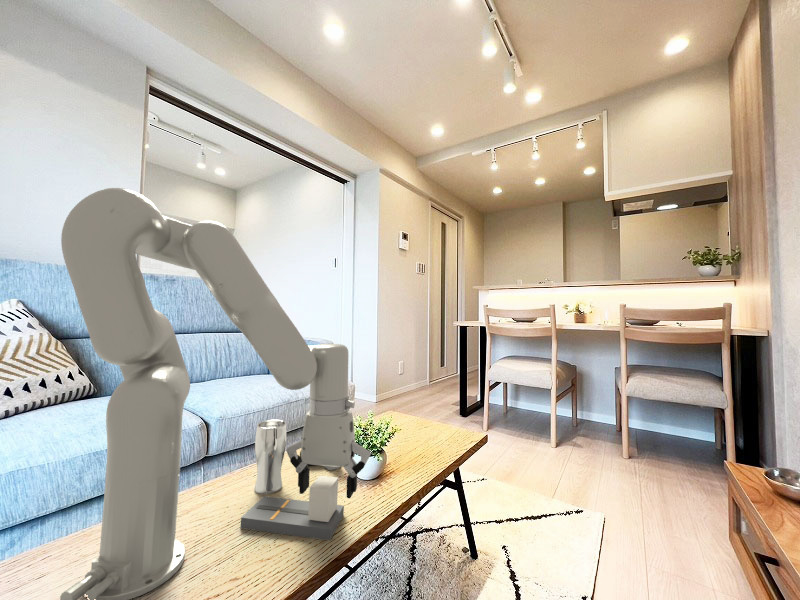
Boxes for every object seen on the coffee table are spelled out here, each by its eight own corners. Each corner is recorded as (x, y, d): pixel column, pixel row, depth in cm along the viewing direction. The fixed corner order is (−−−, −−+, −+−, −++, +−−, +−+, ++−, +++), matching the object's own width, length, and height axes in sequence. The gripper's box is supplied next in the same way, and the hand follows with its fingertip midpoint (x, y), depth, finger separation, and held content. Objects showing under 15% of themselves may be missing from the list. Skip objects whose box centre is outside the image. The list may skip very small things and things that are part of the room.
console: (329, 540, 62) (330, 528, 62) (240, 528, 64) (241, 517, 64) (343, 515, 70) (343, 505, 70) (263, 505, 72) (263, 495, 72)
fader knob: (328, 522, 63) (329, 489, 64) (308, 519, 64) (309, 487, 64) (336, 507, 68) (338, 477, 69) (318, 505, 69) (319, 475, 69)
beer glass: (290, 484, 81) (293, 422, 82) (267, 498, 75) (271, 430, 76) (268, 478, 84) (272, 417, 85) (245, 490, 78) (249, 425, 79)
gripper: (374, 403, 70) (373, 486, 69) (296, 399, 72) (295, 479, 72) (366, 413, 62) (364, 507, 62) (279, 408, 65) (277, 498, 64)
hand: (327, 492), depth 67 cm, fingers open, 9 cm apart
